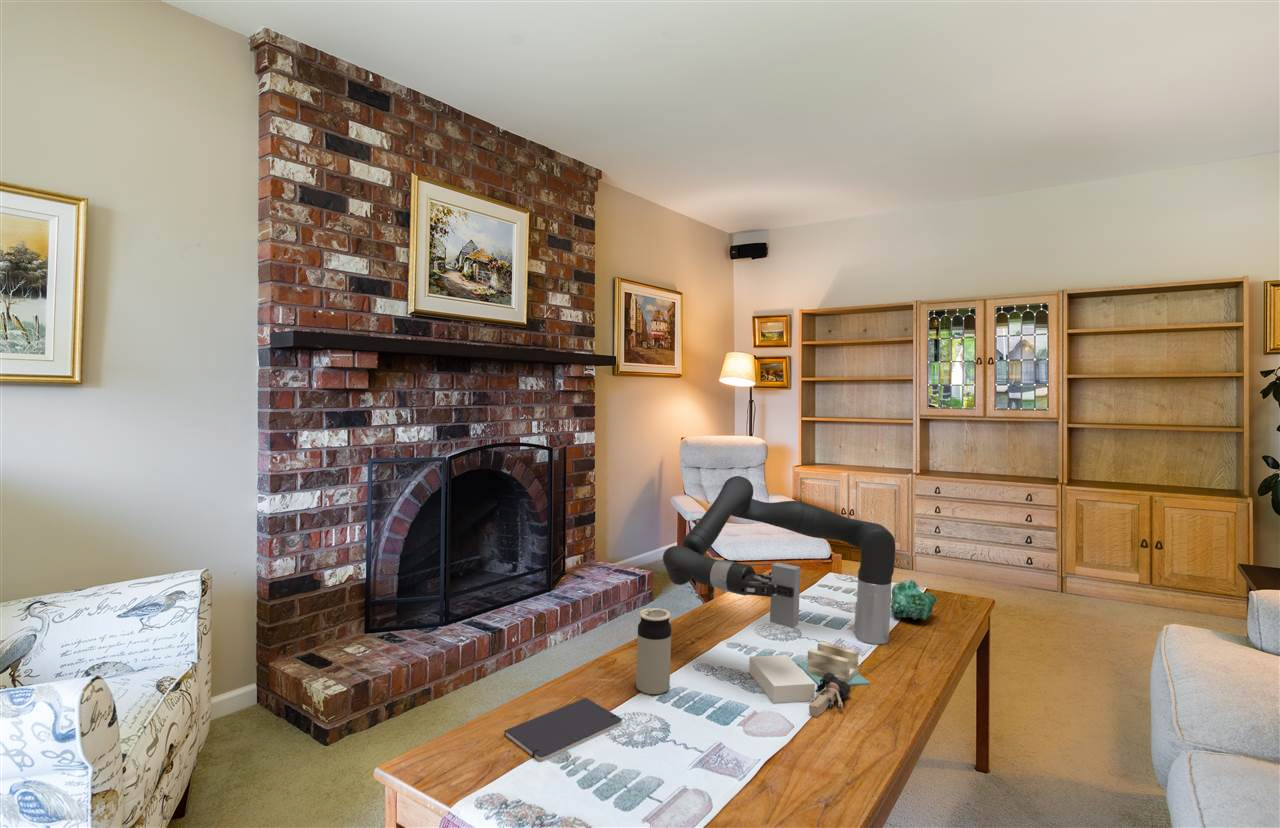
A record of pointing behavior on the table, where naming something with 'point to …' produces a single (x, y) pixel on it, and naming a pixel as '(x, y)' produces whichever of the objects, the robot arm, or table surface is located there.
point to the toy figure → (828, 694)
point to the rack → (833, 661)
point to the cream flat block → (781, 679)
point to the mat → (854, 681)
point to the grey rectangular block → (781, 606)
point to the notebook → (563, 728)
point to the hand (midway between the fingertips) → (795, 591)
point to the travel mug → (653, 651)
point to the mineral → (911, 601)
